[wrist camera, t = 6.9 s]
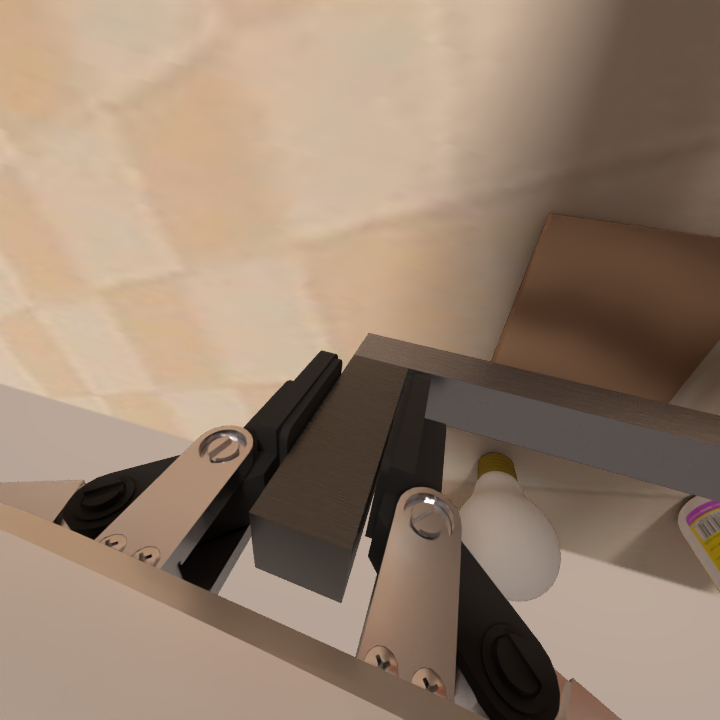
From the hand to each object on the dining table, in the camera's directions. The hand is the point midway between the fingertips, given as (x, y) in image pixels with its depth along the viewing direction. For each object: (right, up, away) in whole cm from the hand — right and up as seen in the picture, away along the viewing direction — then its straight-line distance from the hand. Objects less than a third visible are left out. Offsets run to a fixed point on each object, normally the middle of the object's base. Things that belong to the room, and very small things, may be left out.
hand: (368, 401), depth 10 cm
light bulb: (+11, -7, +15) cm, 19 cm away
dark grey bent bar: (+8, 0, +1) cm, 8 cm away
